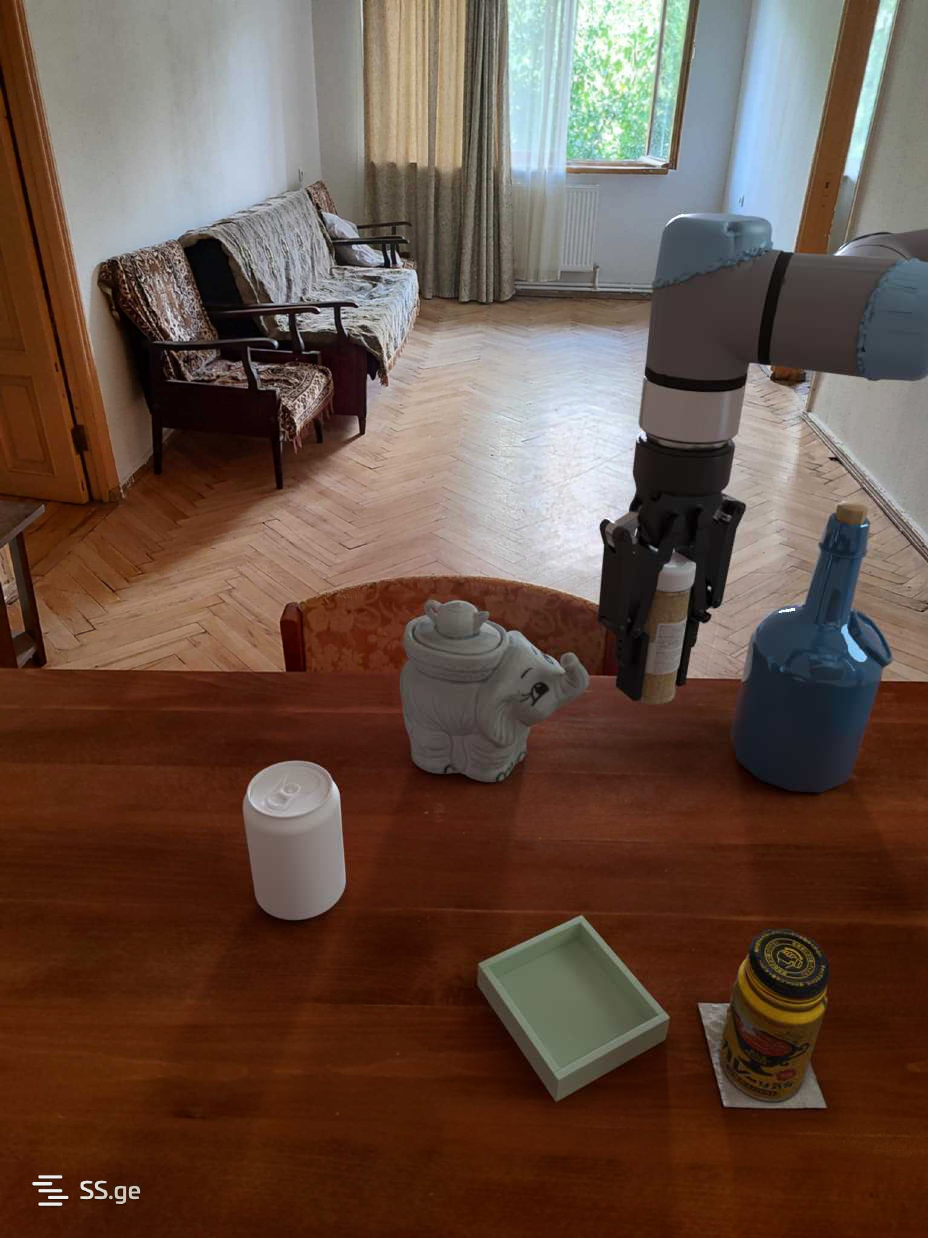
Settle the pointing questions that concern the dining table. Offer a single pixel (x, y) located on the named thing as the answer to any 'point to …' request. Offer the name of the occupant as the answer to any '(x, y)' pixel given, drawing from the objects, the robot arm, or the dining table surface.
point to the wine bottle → (813, 672)
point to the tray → (571, 1006)
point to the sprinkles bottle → (667, 629)
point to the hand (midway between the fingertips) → (650, 685)
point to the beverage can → (295, 840)
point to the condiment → (770, 1024)
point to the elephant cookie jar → (477, 691)
